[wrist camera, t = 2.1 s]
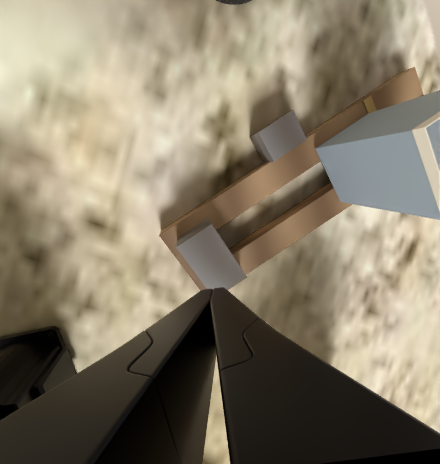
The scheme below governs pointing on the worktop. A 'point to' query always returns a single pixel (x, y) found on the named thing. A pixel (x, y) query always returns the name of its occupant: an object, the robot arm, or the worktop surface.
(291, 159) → the beam
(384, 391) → the worktop surface
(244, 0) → the travel mug
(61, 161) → the worktop surface
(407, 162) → the block
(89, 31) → the worktop surface
